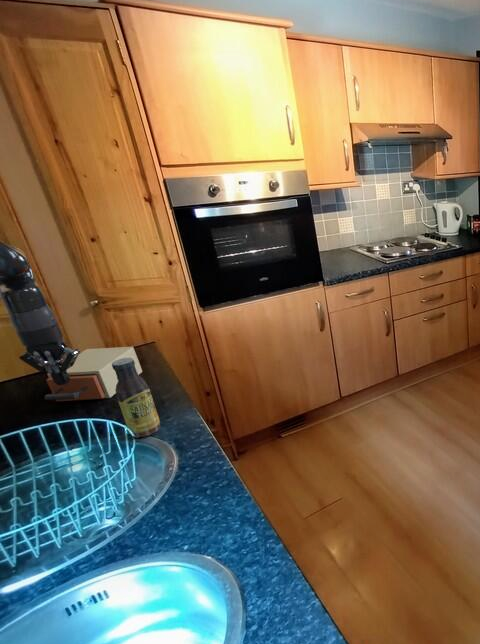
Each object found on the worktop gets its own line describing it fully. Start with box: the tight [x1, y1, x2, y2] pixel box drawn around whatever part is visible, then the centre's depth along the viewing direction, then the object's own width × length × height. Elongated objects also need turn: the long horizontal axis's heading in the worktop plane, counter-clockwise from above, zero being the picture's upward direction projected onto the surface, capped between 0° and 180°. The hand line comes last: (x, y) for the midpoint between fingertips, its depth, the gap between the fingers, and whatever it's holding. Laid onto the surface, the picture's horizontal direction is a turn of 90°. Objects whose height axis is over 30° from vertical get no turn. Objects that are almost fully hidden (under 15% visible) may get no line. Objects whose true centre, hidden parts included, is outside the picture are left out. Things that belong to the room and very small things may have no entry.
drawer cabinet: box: [46, 346, 143, 399], centre depth 131 cm, size 15×13×9 cm
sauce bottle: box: [112, 358, 161, 439], centre depth 109 cm, size 7×6×20 cm
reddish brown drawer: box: [44, 374, 105, 402], centre depth 127 cm, size 19×12×7 cm, turn 7°
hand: (63, 383), depth 120 cm, fingers closed
